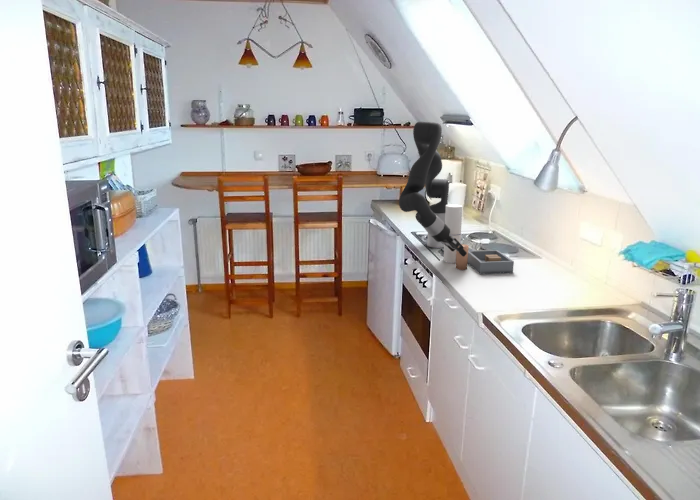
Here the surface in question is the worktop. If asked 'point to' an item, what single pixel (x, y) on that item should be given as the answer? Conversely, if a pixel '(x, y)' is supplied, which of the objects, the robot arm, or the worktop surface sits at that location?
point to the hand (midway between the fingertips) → (459, 252)
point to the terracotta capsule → (462, 259)
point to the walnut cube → (492, 258)
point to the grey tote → (495, 267)
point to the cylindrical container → (453, 229)
